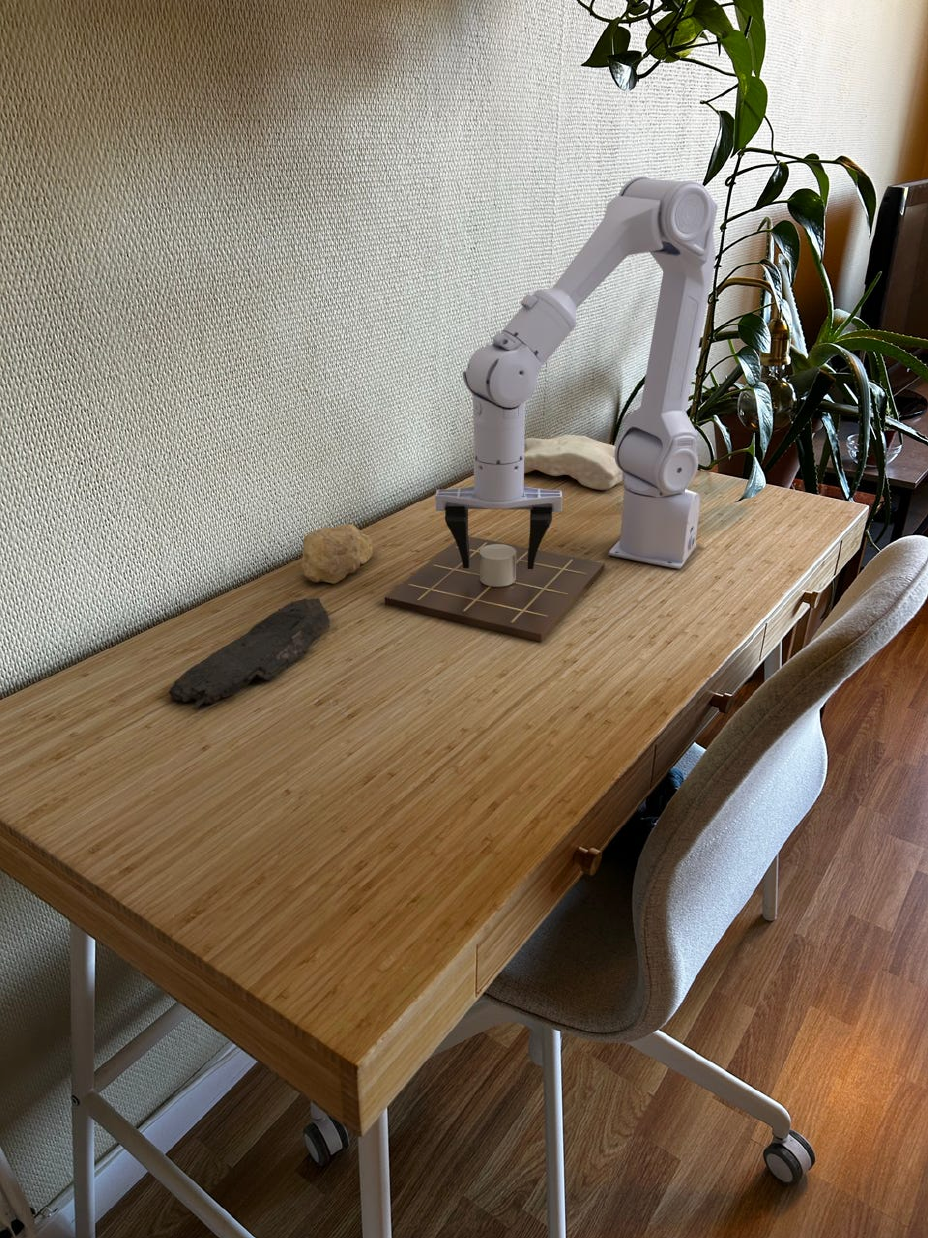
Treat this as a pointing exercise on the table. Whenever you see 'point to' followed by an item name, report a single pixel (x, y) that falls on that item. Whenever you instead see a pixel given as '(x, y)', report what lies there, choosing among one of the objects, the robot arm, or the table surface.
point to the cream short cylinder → (497, 565)
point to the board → (498, 591)
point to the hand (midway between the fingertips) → (498, 565)
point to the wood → (254, 654)
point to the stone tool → (334, 553)
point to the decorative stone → (574, 460)
